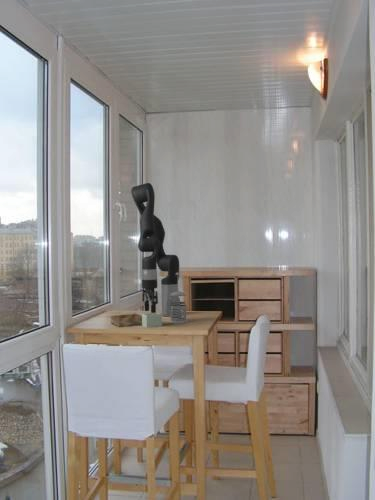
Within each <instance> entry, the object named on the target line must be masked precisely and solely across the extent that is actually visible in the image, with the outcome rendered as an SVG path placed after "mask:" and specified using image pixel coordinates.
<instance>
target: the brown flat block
mask: <svg viewBox="0 0 375 500" xmlns="http://www.w3.org/2000/svg"><path fill="white" fill-rule="evenodd" d="M110 325H113V326H115V327H118V328H124V327H125V326H126V327H134V326H135V325H136V326H142V314H138V313H128V314H119V315H118V314H117V315H110ZM126 327H125V328H126Z"/></svg>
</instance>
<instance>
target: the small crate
mask: <svg viewBox="0 0 375 500" xmlns="http://www.w3.org/2000/svg"><path fill="white" fill-rule="evenodd" d="M141 315H142V325H141V326H142V327H143V328H146V329H147V328H154V327H155V328H156V327H162V326H163V316H162V313H159V312H155V313H151V312H148V313H141Z"/></svg>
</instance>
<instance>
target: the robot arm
mask: <svg viewBox="0 0 375 500" xmlns="http://www.w3.org/2000/svg"><path fill="white" fill-rule="evenodd" d="M130 190H131V191H130V193H131V196H132V199H133V201H134V204H135V206H136V207H137V210H138V213H139V215H140V220H139V228H140V229H139V230H140V235H139V240H138V244H137V248H138V250H139V251H140V253H152V254H151V255H149V256H144V257H142V260H141V261H142V262H141V267H142V268H141V269H142V271H141V289H142V295H141V296H142V298H141V301H142V303H143V304H144V311H145V312H149V311H150V313H157V309H156V308H157V307H156V306H157V304H159V301H158V299H159V298H158V294H159V293H158V291H157V290H156V289H157V288H158V272H157V271H158V270H157V267H158V269H159V270H160V271H161V272H167V275H166V276H165V277H163V278H161V279H160V280H161V281H160V283H161V288H160V289H161V314H162V317H171V305H181V304H172V302H178V296H171V294H172V293H174V292H177V291H179V278H180V260H179V257H178V256H177V255H176V254H166V252H165V249H164V241H165V237H166V231H165V228H164V226H163V222H162V220H161V219H160V218H159V217H158V216H156V215H155V214H154V213H155V200H156V199H155V197H156V196H155V194H156V193H155V190H154V187H153V185H152V184H151V182H150V183H149V182H146V183H143V184H139V185H136V186H132V187H131V189H130ZM144 203H146V206H145V204H144ZM177 272H178V273H179V275H176V273H177ZM155 290H156V291H155ZM170 297H171V298H172V300H170ZM168 298H169V299H168ZM167 299H168V300H167ZM166 300H167V303H166V304H167V307H165V302H166ZM179 302H181V298H180V297H179ZM166 308H168V309H169V310H170V312H169V310H168V309H166ZM176 310H178V309H176ZM174 312H175V311H174ZM176 313H179V312H176ZM176 315H178V314H176Z"/></svg>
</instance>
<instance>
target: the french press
mask: <svg viewBox="0 0 375 500" xmlns="http://www.w3.org/2000/svg"><path fill="white" fill-rule="evenodd" d="M176 275H179V276H180V272H179V273H178V272H177V273H176ZM171 296H178V302H172V304H180V305H171V316H170V320H169V323H171V324H183V323H188V322H189V320H188V319H187V304H186V302H185V301H180V302H179V298H180V297H186V296H187V294H186V293H185V292H183V291H179V290H178V291H177V292H174V293H172V294H171ZM168 299H169V298H168ZM168 299H167V300H168ZM167 300H166V302H165V307H167V304H166V303H167ZM170 300H172V298H171V297H170ZM166 309H168V308H166ZM176 309H178V310H176ZM168 310H169V309H168ZM174 311H175V312H174ZM169 312H170V310H169ZM176 312H179V313H176ZM176 314H178V315H176Z"/></svg>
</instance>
